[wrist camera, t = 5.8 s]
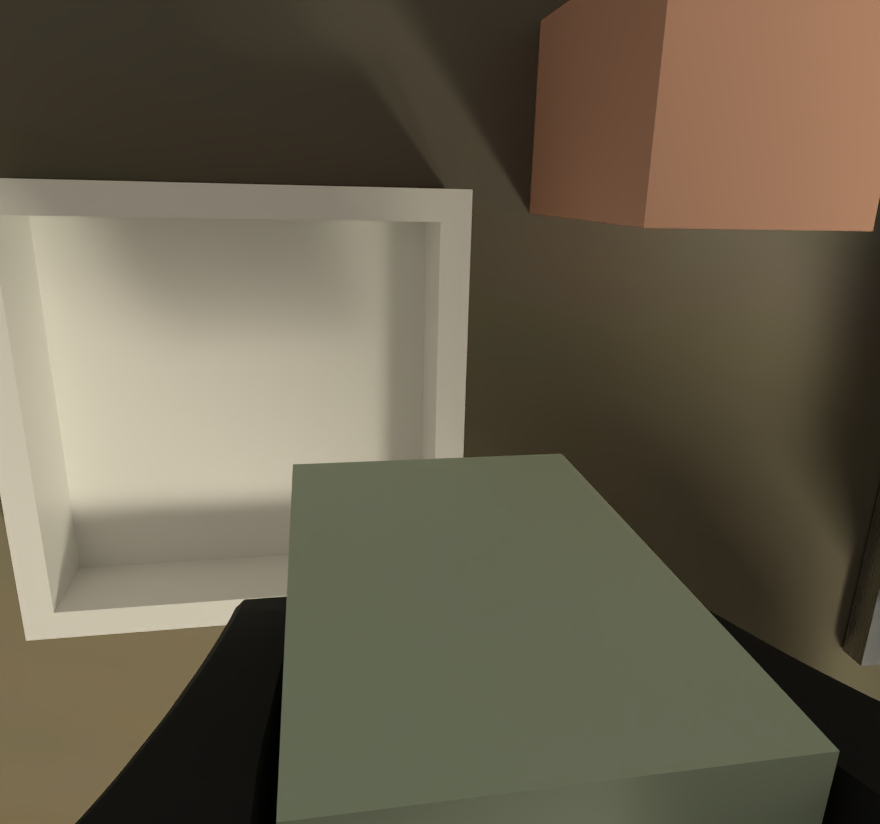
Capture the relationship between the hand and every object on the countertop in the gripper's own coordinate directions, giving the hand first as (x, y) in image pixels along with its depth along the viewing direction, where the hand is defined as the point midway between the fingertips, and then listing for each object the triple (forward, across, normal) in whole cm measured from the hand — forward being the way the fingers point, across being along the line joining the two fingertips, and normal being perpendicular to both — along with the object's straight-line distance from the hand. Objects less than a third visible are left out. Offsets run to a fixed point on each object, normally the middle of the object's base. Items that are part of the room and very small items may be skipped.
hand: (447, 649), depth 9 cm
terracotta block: (+9, -5, -7) cm, 13 cm away
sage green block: (+2, 0, 0) cm, 2 cm away
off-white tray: (+9, +3, -1) cm, 9 cm away
